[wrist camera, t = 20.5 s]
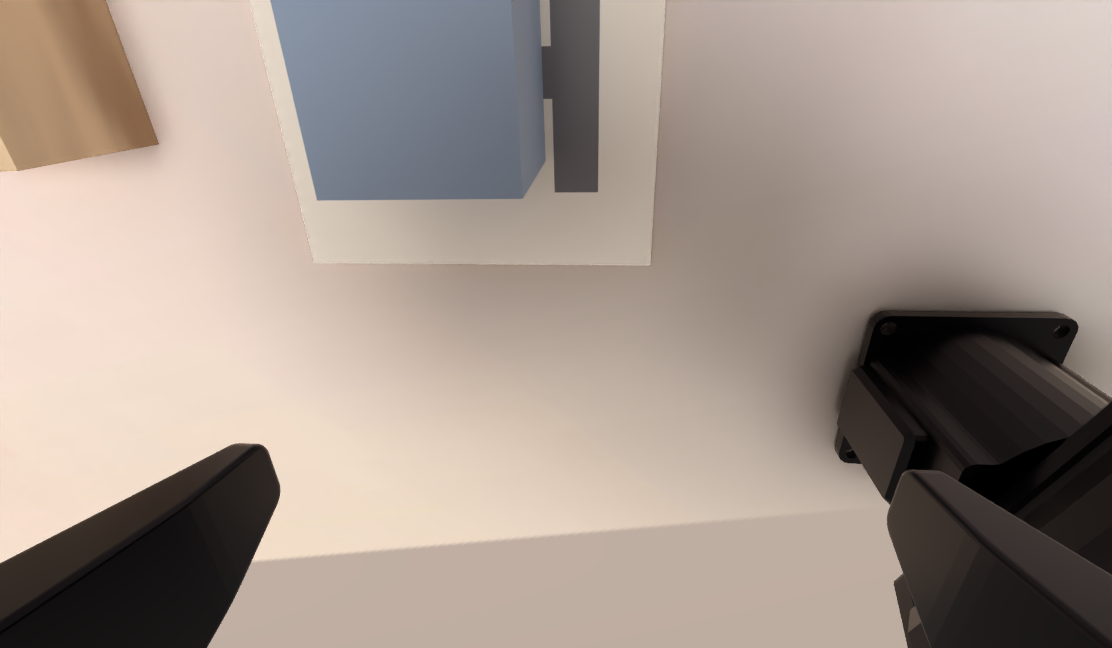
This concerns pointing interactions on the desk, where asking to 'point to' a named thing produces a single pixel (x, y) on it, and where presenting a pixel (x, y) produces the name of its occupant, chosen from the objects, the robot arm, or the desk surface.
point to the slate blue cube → (416, 96)
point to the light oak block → (65, 85)
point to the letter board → (563, 181)
